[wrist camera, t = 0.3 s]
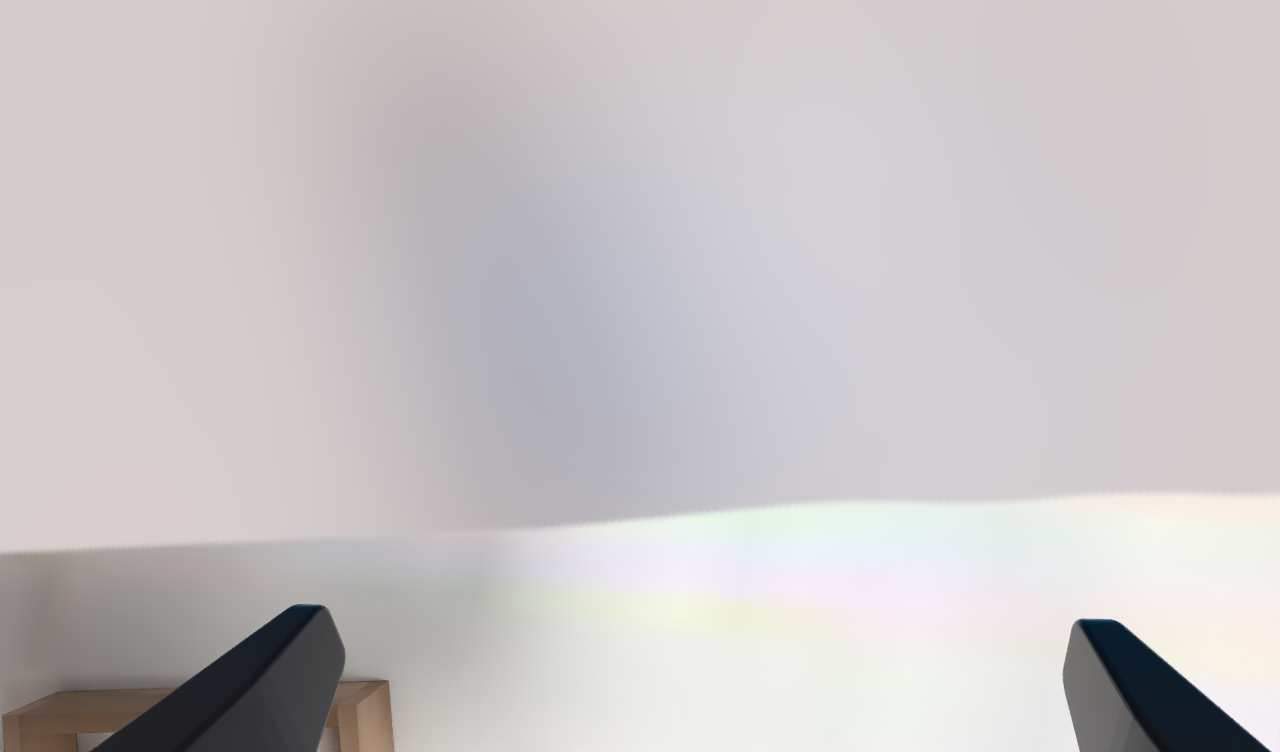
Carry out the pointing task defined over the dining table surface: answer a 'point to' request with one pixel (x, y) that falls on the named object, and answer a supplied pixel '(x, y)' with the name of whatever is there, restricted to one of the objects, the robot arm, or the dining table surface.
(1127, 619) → the dining table surface
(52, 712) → the walnut well
